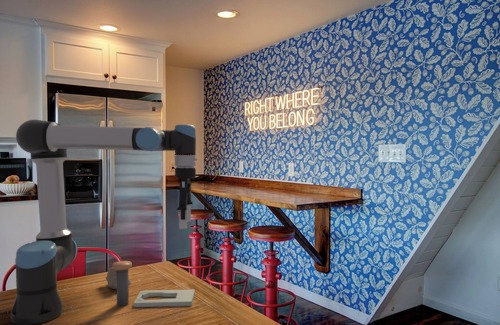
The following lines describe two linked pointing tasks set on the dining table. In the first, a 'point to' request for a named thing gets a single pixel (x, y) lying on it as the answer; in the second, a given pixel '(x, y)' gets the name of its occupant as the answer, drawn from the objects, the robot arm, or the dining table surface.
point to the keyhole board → (181, 299)
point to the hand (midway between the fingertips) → (185, 225)
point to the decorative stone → (113, 279)
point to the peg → (122, 281)
